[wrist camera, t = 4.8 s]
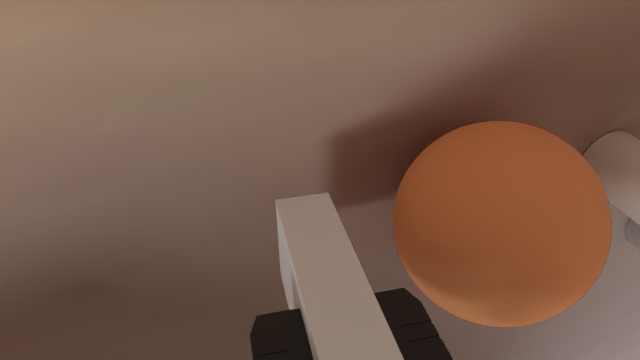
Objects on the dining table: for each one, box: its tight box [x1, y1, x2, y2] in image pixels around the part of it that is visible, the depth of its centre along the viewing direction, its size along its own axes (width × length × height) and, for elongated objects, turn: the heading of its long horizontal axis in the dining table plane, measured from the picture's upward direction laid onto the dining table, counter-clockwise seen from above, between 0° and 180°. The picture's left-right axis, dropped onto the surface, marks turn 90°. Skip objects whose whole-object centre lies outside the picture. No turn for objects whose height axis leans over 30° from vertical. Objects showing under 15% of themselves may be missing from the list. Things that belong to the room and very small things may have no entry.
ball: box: [393, 121, 612, 327], centre depth 14 cm, size 6×6×6 cm
